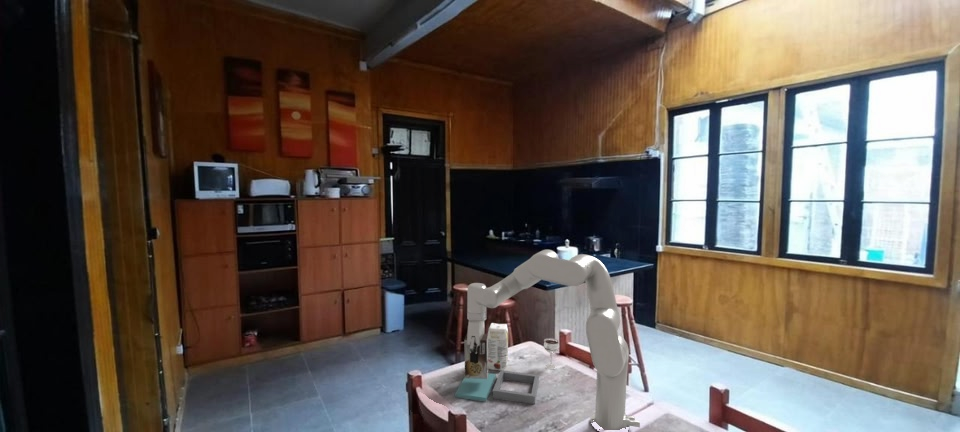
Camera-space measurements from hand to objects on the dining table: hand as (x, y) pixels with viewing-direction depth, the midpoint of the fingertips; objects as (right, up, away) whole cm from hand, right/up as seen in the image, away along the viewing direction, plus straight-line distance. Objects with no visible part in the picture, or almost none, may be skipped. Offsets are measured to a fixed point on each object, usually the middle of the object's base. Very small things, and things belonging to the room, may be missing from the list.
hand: (476, 357), depth 153 cm
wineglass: (+33, -11, +18) cm, 39 cm away
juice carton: (+9, -11, +17) cm, 23 cm away
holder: (+16, -12, -1) cm, 20 cm away
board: (0, -12, +1) cm, 12 cm away
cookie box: (0, -7, +1) cm, 7 cm away
